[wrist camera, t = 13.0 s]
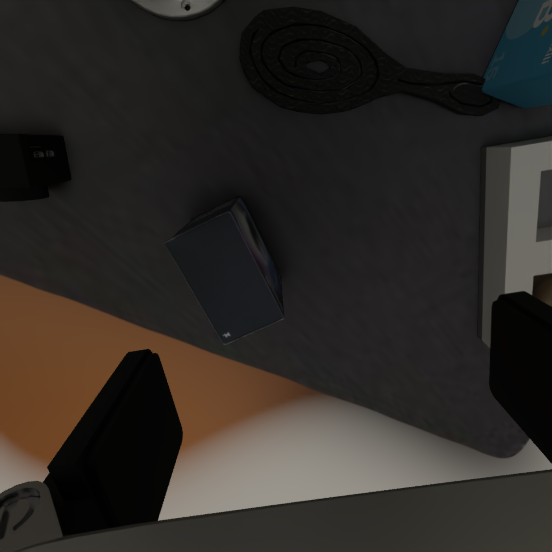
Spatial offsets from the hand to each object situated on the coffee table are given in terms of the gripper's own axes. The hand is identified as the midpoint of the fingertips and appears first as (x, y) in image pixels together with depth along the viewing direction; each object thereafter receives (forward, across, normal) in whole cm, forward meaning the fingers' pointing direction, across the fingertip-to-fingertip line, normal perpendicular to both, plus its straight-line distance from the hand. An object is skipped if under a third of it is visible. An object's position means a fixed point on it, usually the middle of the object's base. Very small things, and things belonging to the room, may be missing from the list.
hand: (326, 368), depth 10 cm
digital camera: (+31, +26, -8) cm, 41 cm away
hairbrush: (+31, -10, -10) cm, 34 cm away
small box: (+30, +6, +4) cm, 31 cm away
